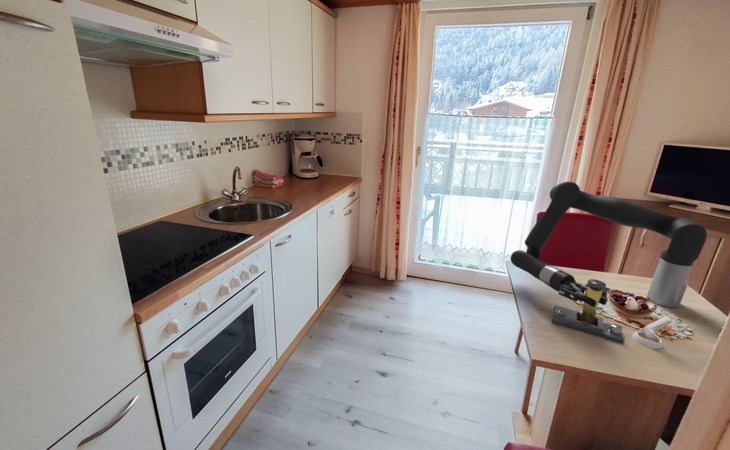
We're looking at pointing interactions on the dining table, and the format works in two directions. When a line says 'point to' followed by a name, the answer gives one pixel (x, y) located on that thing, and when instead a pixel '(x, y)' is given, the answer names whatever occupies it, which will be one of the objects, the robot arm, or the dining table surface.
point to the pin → (595, 293)
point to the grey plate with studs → (600, 329)
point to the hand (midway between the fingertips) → (600, 303)
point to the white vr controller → (652, 333)
